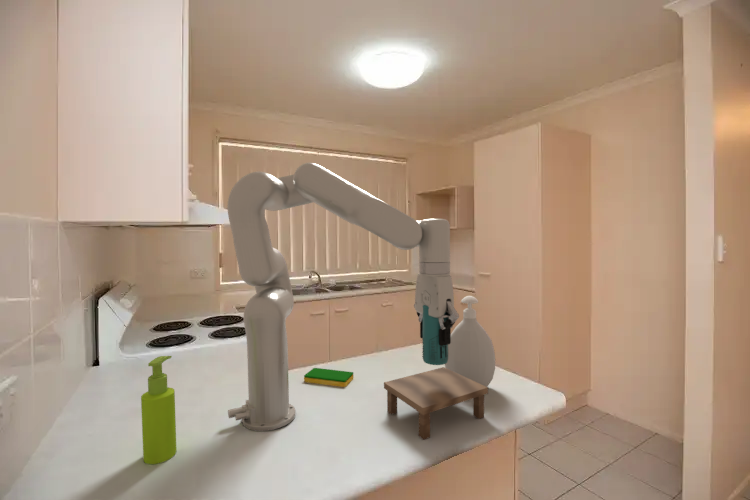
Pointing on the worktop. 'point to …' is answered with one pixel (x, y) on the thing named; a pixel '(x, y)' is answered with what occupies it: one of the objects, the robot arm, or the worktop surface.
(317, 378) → the dish sponge
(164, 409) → the soap dispenser
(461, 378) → the footstool
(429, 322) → the beverage bottle
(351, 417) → the worktop surface
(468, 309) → the soap bottle
